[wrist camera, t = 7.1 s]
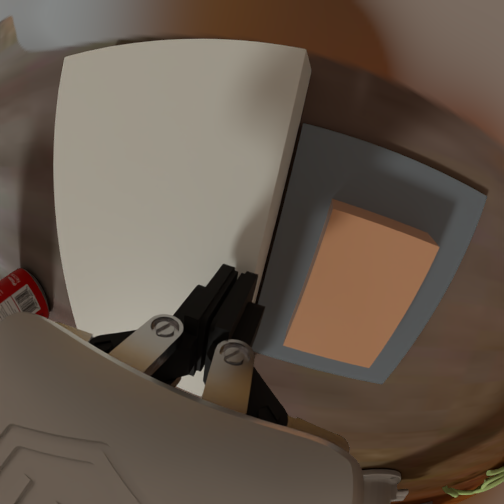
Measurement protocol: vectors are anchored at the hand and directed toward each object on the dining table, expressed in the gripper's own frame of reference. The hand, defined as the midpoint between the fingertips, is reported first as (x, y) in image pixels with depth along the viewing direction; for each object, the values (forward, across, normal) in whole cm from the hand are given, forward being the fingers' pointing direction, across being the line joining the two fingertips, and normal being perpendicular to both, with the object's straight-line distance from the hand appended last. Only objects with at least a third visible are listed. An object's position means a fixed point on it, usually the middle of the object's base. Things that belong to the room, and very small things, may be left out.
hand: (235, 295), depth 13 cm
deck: (+5, +6, 0) cm, 8 cm away
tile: (+2, -6, 0) cm, 7 cm away
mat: (+5, -6, 0) cm, 8 cm away
